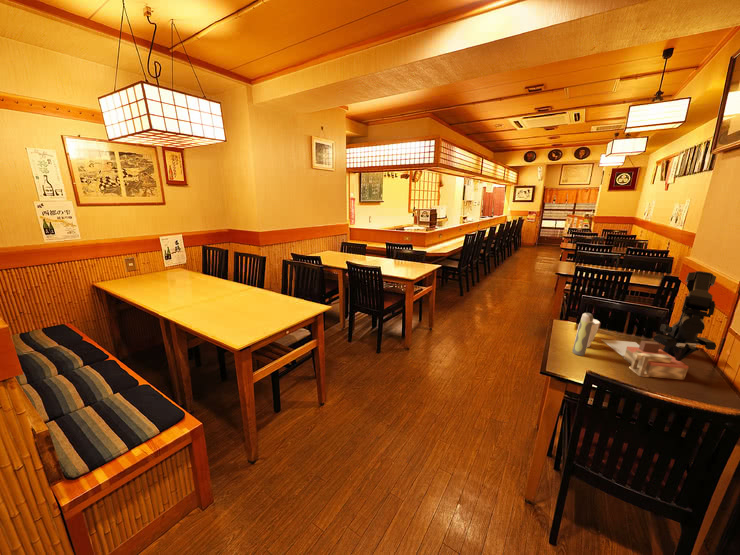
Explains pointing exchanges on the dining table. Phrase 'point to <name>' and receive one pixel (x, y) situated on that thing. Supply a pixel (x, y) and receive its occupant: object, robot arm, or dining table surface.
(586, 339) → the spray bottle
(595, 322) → the white cup
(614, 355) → the dining table surface
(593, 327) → the can
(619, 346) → the mat
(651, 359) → the tan wooden bar
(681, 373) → the toolbox
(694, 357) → the dining table surface
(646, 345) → the lid
